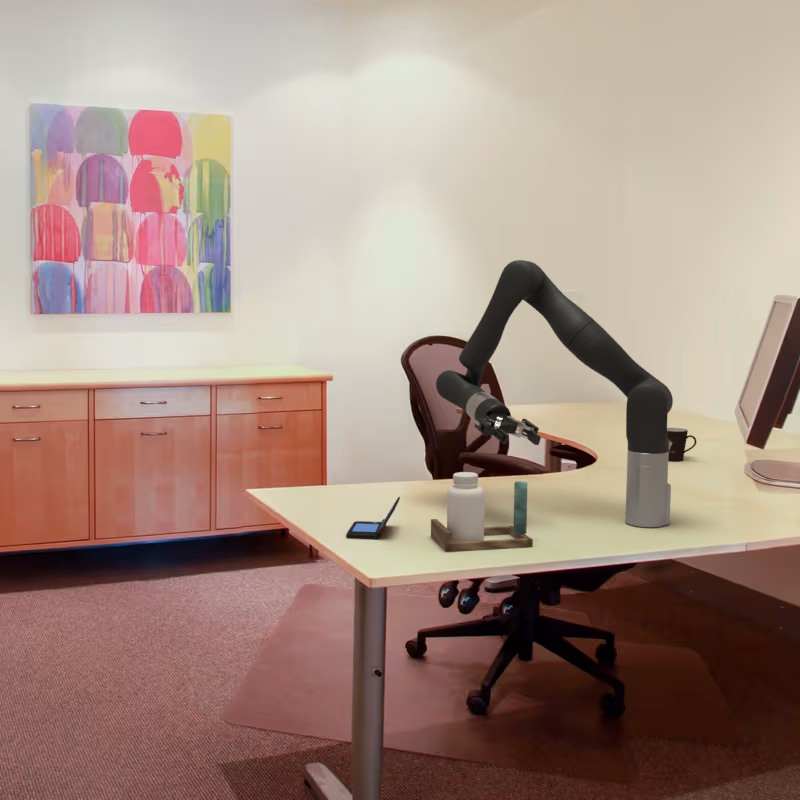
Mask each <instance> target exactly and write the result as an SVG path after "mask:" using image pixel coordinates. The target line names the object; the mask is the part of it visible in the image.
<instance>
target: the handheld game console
mask: <svg viewBox="0 0 800 800" xmlns="http://www.w3.org/2000/svg"><path fill="white" fill-rule="evenodd" d="M400 500H401V497H400V496H398V497H397V499H396V500H395V502H394V503H393V505H392V506H391V508H390V509H389V512H388V513H387V515H386V516H385V518H383V519H382V520H381V521H365V520H363V521H361V520H357V521H353V523H352V524H351V526H350V528H349V529H348V530H347V532H346V533H345V537H346V539H351V540H352V539H354V540H356V539H357V540H380V539H381V536H382V532H383V531H385V528H386V527H387V523H388V521H390V518H391V516H393V513H394V512H395V510H396V508H397V506H398V503H399V502H400Z"/></svg>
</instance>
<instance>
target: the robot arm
mask: <svg viewBox="0 0 800 800" xmlns="http://www.w3.org/2000/svg"><path fill="white" fill-rule="evenodd" d="M522 301H524V302H526V303H527V304H528V305H529V306H531V307H532V308H533V309H534V310H536V311H537V312H538V313H539V314H540V315H541V316H542V317H543V318H544V319H545V321H546V322H547V324H548V325H549V326H550V328H551V329H552V331H553V332H554V334H555V336H556V337H557V339H558V340H559V341H560V343H562V345H563V346H564V347H565V348H566V349H567V350H568V351H569V352H570V353H571V354H572V355H573V356H574V357H576V358H577V360H579V361H580V362H581V363H582V364H583V365H585V366H586V367H588V368H589V369H590V370H593V372H596V373H597V374H598V375H600V376H602V377H603V378H606V380H608V381H609V382H611V383H612V384H613V385H614V386H616V388H617V389H618V390H619V391H621V393H623V395H624V396H625V397H626V398H627V399H626V408H625V412H626V413H625V415H626V417H625V420H626V421H625V422H626V423H625V429H626V431H625V432H626V433H625V435H626V441H627V459H626V463H627V464H626V486H625V487H626V488H625V489H626V490H625V512H624V515H625V519H624V520H625V523H626V524H628V525H631V526H635V527H642V528H659V527H661V528H662V527H664V526H667V525H668V526H669V525H670V524H671V523H670V521H671V518H670V516H671V495H672V494H671V493H672V485H671V484H670V483H668V480H669V479H668V477H669V476H668V474H669V461H668V454H669V452H668V451H669V440H668V437H667V428H668V414H669V413H670V411H671V410H672V407H673V402H674V400H673V399H674V398H673V395H672V392H671V390H670V389H669V387H668V386H667V385H666V384H665V383H663V382H662V381H661V380H659V379H658V378H656V377H655V376H654V375H653V374H651V373H650V372H649V371H647V370H646V369H645V368H644V367H642V366H641V365H640V364H639V363H637V362H636V361H635V360H634V359H633V358H632V357H631V356H630V355H629V353H627V352H626V350H625V349H624V348H623V347H622V346H621V345H620V344H619V343H618V342H617V341H616V340H615V339H614V338H613V336H611V334H610V333H608V331H606V330H605V328H603V326H601V325H600V324H599V323H598V322H597V320H595V319H594V318H593V317H592V316H591V315H590V314H588V313H587V312H586V311H584V309H582V308H581V307H580V306H579V305H578V304H576V303H575V302H574V301H572V300H571V299H570V298H568V297H567V296H566V295H565V294H564V293H563V292H562V290H560V289H559V288H558V287H557V286H556V284H554V282H553V281H552V280H551V279H550V278H549V276H548V275H547V274H546V273H545V271H544V270H543V268H541V266H539V265H537V263H535V262H532V261H529V260H522V259H517V260H513V261H510V262H509V263H507V264H506V266H504V268H503V270H502V272H501V273H500V276H499V278H498V280H497V282H496V285H495V289H494V291H493V294H492V296H491V298H490V300H489V303H488V305H487V306H486V308H485V311H484V312H483V315H482V317H481V319H480V320H479V322H478V323H477V326H476V327H475V329H474V331H473V333H472V334H471V335H470V336H469V339H468V340H467V342H466V344H465V346H464V347H463V349H462V351H461V353H460V355H459V357H458V360H459V362H460V364H461V365H462V366H463V367H465V368H466V372H465V375H464V374H462V373H459V372H457V371H455V370H450V369H449V370H448V369H447V370H444V371H442V372H441V373H440V374H439V375H438V377H437V378H436V381H435V388H436V391H437V393H438V394H439V396H440V397H441V398H443V399H444V400H446V401H447V402H450V403H451V404H452V405H455V406H457V407H458V408H460V409H461V410H462V412H464V413H465V414H466V415H468V416H469V417H470V419H471V420H472V421H473V423H474V427H475V429H476V430H478V431H479V432H480V434H482V435H483V436H485V437H489V435H490V437H491V438H495V439H497V440H498V441H499V442H501V443H502V444H503V445H506V444H508V440H509V435H511V436H514V437H517V438H524V439H527V440H528V441H529V442H530V443H532V444H533V445H534V446H539V445H540V442H541V439H542V437H541V436H540V435H539V430H540V428H539V426H536V425H535V424H534V423H532V422H531V421H529V420H528V419H527V418H522V420H517V419H516V418H514V417H512V414H511V411H510V409H509V408H508V407H507V406H506V405H505V403H504V404H503V403H502V402H501V401H499V399H497V398H496V397H495V396H493V395H491V394H489V393H488V392H486V390H484V389H482V388H481V387H480V384H481V381H482V378H483V374H484V371H485V368H486V366H487V365H488V363H489V362H490V360H491V358H492V357H493V355H494V353H495V352H496V351H497V348H498V347H499V343H500V342H501V340H502V337H503V334H504V331H505V328H506V327H507V323H508V322H509V319H510V318H511V316H512V314H513V313H514V311H515V309H517V307H518V306H519V305H520V304H521V302H522ZM518 428H519V429H518ZM517 429H518V432H517Z"/></svg>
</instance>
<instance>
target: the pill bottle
mask: <svg viewBox="0 0 800 800" xmlns="http://www.w3.org/2000/svg"><path fill="white" fill-rule="evenodd" d="M452 481H453V485H452V486H450V487H448V489H447V494H446V528H447V529H448V530H449V531H451V532H452V542H469V541H485V536H484V527H485V491H484V489H483V488H482V486H480V485H479V474H478V473H476V472H472V471H471V472H470V471H460V472H455V473H453V475H452Z"/></svg>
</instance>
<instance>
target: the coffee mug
mask: <svg viewBox="0 0 800 800" xmlns="http://www.w3.org/2000/svg"><path fill="white" fill-rule="evenodd" d="M688 433H689V429H687V428H682V427H667V437H668V440H669V451H668V452H669V454H668V462H669V463H670V462H674V463H675V462H676V463H679V462H683V461H684V455H685V453H687V452H689V451H690V450H692V449H693V448H694V447H695V446H696V445H697V438H696V437H695V436H694V435H693V434H692V435H691V434H689V435H688ZM689 438H692V439H693V442H694V443H693V445H692V446H690V447H689V448H686V444H687V440H688V439H689Z"/></svg>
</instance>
